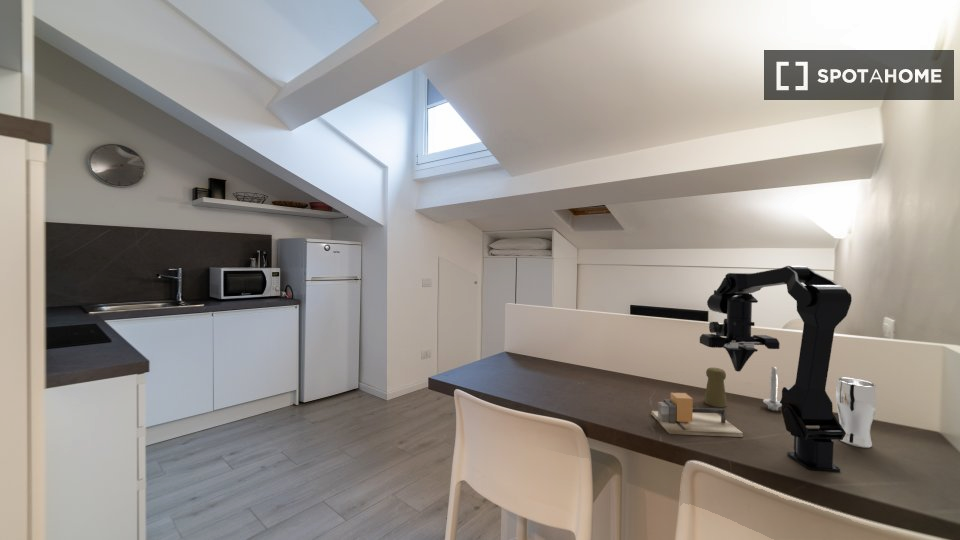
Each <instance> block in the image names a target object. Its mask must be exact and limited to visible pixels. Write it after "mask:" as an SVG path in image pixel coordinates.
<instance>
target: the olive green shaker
mask: <svg viewBox="0 0 960 540" xmlns="http://www.w3.org/2000/svg"><path fill="white" fill-rule="evenodd" d="M705 374H706V378H707V384H706V389H705V393H704V399H703V402H704V403H705V404H707V405H708V406H711V407H715V408H716V407H717V408H726V407H727V406H728V404H727V396H726V388H725V387H726V386H725V382H724V381H725V380H726V378H727V374H726V371H725V370H724V369H722V368H719V367H709V368H707V369H706V371H705Z"/></svg>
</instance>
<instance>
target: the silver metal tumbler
mask: <svg viewBox="0 0 960 540" xmlns="http://www.w3.org/2000/svg"><path fill="white" fill-rule="evenodd" d="M836 382H837V383H836V389H835V390H836V391H835V403H836V410H837V413H838V415H837V416H838V422H839V423H840V425H841V426H842V428H843V429H844V431H845V432H846V434H845V436H844V438H843V440H839V441H840V442H842V443H845V444H847V445H850V446H854V447H859V448H863V449H864V448H865V449H868V448H871V447H872V446H873V443H872V438H871V427H872V424H873V420H874V416H875V414H876V409H877V389H876V384H875V383H873V382H872V381H869V380H868V381H867V380H863V379H858V378H852V377H838V378H837V381H836Z"/></svg>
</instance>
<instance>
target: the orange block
mask: <svg viewBox="0 0 960 540" xmlns="http://www.w3.org/2000/svg"><path fill="white" fill-rule="evenodd" d="M670 400H671V402H673V403H674V404H675V405H676V421H680V422H692V415H693V408H694V407H693V406H694V405H693V403H694V402H693V401H694V399H693V397H691V396H690V395H688V393H687V392H670Z"/></svg>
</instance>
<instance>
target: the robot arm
mask: <svg viewBox="0 0 960 540" xmlns="http://www.w3.org/2000/svg"><path fill="white" fill-rule="evenodd" d="M782 285H786V289H787V290H786V291H787V294H788V295H790V297H791V298H793V299H794V301H796V312H797V313H798V316H799V317H800V319H801V321H802V322H803V328H802V335H801V342H800V347H799V349H800V350H799V356H798V357H799V358H798V361H797V370H796V378H795V382H794V384H793V385H792V386H785V387H784V386H783V387H782V389H781V399H780V400H779V401H780V404H782V406H780V408H781V413H782V417H783V423H784V426H785V429H786V431H787V432H789V433H790V435H791V436H793V451H787V455H788V456H789V457H791V458H792V459H793V460H795V461H796V462H798V463H800V465H802V466H803V467H805V468H806V469H807V470H811V471H812V470H813V471H833V472H841V468H840V467H839V466H838V465H836V464H835V463H833V462H834V446H835V445H834V444H835V443H834V441H833V440H839V441H840V440H843V438H844V436H845V434H846V432H845V431H844V429H843V428H842V426H841V425H840V423H839V419H837V418H836V416H835V414H834V412H833V408H834V407H833V401H832V399H830V396H829V395H828V393H827V392H826V386H827V380H828V372H829V367H830V362H831V361H830V360H831V353H832V347H833V341H834V336H835V329H836V327H837V326H838V325H839V324H840V323H841V322H842V321H843V320H844V319H845V318H846V317H847V315H848V312H849V310H850V307H851V304H852V300H853V299H852V294H851V293H850V292H848V290H847V289H846V288H845V287H844V286H842V285H840V284H838V283H836V282H835V281H834V280H832V279H830V278H828V277H827V276H824V275H821V274H819V273H817V272H815V271H814V269H812V268H810V267H808V266H806V265H786V266H783V267H781V268H775V269H769V270H763V271H759V272H728V273H727V274H725V276H724V278H723V279H722V281H721V283H720V285H719V287H718V288H717V289H716V290H714V289H713V294H711V295H710V296H709V297H708V299H707V300H706V301H707V302H706V305H707V307H708V309H709V310H710V311H712V312H715V313H716V312H717V313H719V314H724V315H726V318H724V319H723V323H721V324H720V323H719V322H718V321H709V322H708V323H709V324H708V325H709V327H708V329H709V332H710V333H702V334H701V335H700V336H699V343H700V345H704V346H706V347H708V348H713V349H715V348H719V349H722V348H723V349H725V351H726V352H727V355H728V356H729V358H730V360H731V363H732V366H733V368H734V371H736V372H740V373H741V371H742V370H743V368H744V366H745V365H746V364H747V362H748V361H749V359H750V358H751V357H752V355H753V354H754V353H755V352H758V349H757V348H755V346H765V348H767V349H769V350H779V349H780V347H781V346H780V345H781V344H780V343H781V342H780V340H779V339H778V338H777V337H772V336H770V335H767V334H765V335H764V334H753V335H752V327H755V322H754V321H752V317H753V315H752V313H753V311H752V310H753V309H752V306H753V304H757V303H758V302H759V300H757V298H756V297H754V295H753V293H755V292H758V291H760V290H762V288H766V287H773V286H774V287H775V286H782ZM808 426H809V427H808ZM813 426H815V427H813Z"/></svg>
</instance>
